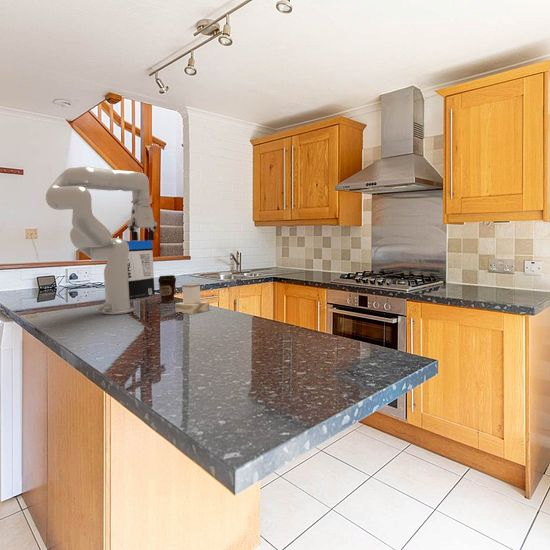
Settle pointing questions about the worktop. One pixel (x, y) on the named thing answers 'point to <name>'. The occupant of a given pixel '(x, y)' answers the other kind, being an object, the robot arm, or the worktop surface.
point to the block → (192, 307)
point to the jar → (191, 293)
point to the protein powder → (140, 269)
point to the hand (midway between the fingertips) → (143, 240)
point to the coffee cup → (167, 288)
